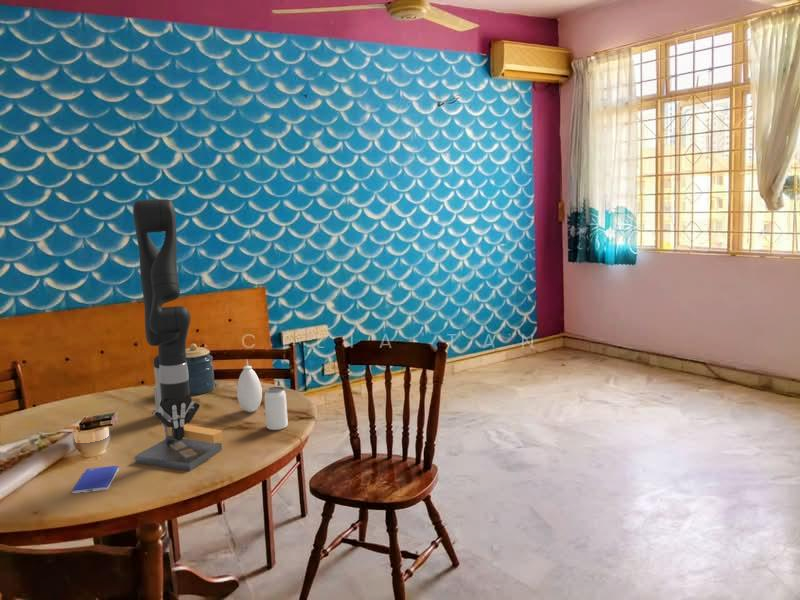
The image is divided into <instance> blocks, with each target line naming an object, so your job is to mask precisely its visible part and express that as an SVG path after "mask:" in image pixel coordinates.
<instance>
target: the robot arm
mask: <svg viewBox="0 0 800 600" xmlns="http://www.w3.org/2000/svg"><path fill="white" fill-rule="evenodd" d="M132 215H133V223H134V228H135V235H136V241H137V246H138V256H139V257H138V258H139V272H140V281H141V282H140V283H141V289H142V295H143V298H142V299H143V306H144V332H145V338H146V341H147V344H148V345H150V346H152V347H157V349H158V351H157V352H158V355H156V356H155V357H154V358H153V371H154V379H155V386H156V387H155V388H154V389H153V392H154V393H153V394H154V402H155V409H154V410H153V411H151V412H152V415H153V416H154V417H156V418H157V420H159V421H160V422H161V424H162V423H163V424H164V425H166V426H167V427H169V428H170V427H172V437H173V438H174V439H175V440H176V441H179V440H182V437H184V425H188V424H190V423H191V422H192V420H193V418H194V416H195V414H196V413H197V411H198V410H199V408H200V407H201V406H200V405H201V404H200V403H198V402H196V401H193V399H192V397H191V395H190V390H189V375H188V367H187V362H186V349H187V348H186V346H187V345H186V344H187V338H188V333H189V328H190V326H191V312H190V311H189V309H188V308H187V307H186V306H183V305H176V306H164V307H162V306H163V305H165V304H166V303H169V302H172V301H175V300H177V299H178V298H179V297H180V295H181V290H180V283H179V281H180V280H179V275H178V266H177V265H178V264H177V263H178V261H177V256H178V255H177V253H178V251H177V250H178V249H177V246H178V245H177V244H178V242H177V239H178V238H177V218H176V211H175V207H174V203H173V202H172V201H171V199H167V198H166V199H165V198H160V199H140V200H136V201H134V203H133V208H132ZM163 232H164V233H165V234H164V240H163V243H162V246H161V248H160V250H159V248H158V247H157V246H156V245H155V244H154V242H153V240H152V239H151V237H150V233H163ZM168 420H170V422H169V421H168Z"/></svg>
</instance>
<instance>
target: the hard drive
mask: <svg viewBox="0 0 800 600" xmlns="http://www.w3.org/2000/svg"><path fill="white" fill-rule="evenodd" d="M119 467H120V466H118V465H109V466H102V467H92V468H86V469H85V471H84V472H83V473H82V475H81V477H80V478H79V480H78V482H77V483H76V484H75V485H74V487H73V488H72V491H71V493H76V494H81V493H80V492H84V493H90V491H93V492H99V491H101V490H102V491H108V489H109V488H110V486H111V484H112V482H113V481H114V479H115V477H116V476H117V473H119V470H120V468H119ZM102 491H101V492H102Z"/></svg>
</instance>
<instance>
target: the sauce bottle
mask: <svg viewBox="0 0 800 600" xmlns="http://www.w3.org/2000/svg"><path fill="white" fill-rule="evenodd" d="M245 363H246V365H245V366H243V368H242V371H241V373H240V375H239V377H238V381H237V387H236V394H237V395H236V397H237V402H238V403H239V404H238V405H239V406H240V407H241V409H242V410H245V412H248V413H254V412H255V411H257V409H258V408H259V407H260V405H261V403H262V399H263V389H262V383H261V381H260V379H259V377H258V375H257V373H256V371H255V370H254V369H252V366H251V365H249V362H248V359H246V362H245Z"/></svg>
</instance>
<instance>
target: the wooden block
mask: <svg viewBox="0 0 800 600" xmlns="http://www.w3.org/2000/svg"><path fill="white" fill-rule="evenodd" d="M168 421H169V422H170V420H168ZM161 426H163V427H164V435H165V439H166V441H172V440H174V438H173V437H172V427H170V428H169V427H167V426H166V425H164V424H163V423H162V422H161ZM182 438H183V439H191V440H196V441H202V442H207V443H213V444H214V443H219V442H220V441H222V440H223V439H224V435H223V430H220V429H214V428H208V427H202V426H198V425H197V426H195V425H190V424H185V425H184V437H182Z"/></svg>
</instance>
